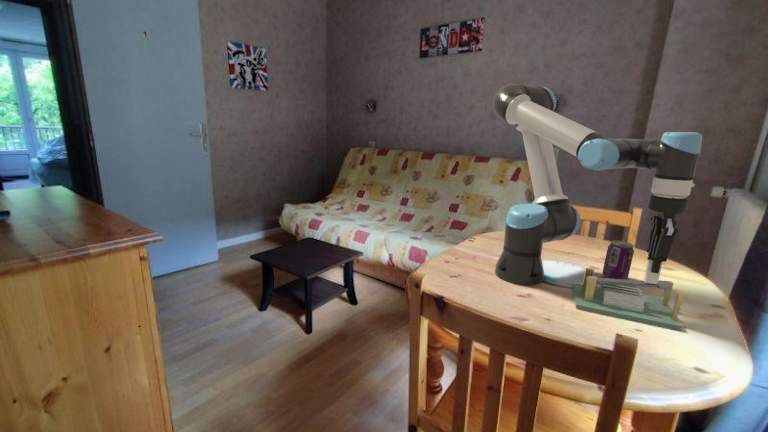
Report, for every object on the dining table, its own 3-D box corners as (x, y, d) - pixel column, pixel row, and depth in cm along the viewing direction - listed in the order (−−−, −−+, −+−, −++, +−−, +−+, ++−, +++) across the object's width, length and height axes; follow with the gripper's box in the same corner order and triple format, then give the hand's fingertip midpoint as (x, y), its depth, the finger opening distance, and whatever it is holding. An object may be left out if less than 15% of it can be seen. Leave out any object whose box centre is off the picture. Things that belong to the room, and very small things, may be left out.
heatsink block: (602, 305, 94) (605, 291, 93) (598, 291, 102) (601, 278, 101) (642, 313, 90) (646, 299, 89) (635, 298, 98) (638, 285, 97)
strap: (587, 285, 97) (587, 279, 96) (585, 279, 100) (585, 274, 100) (671, 291, 88) (671, 286, 88) (666, 285, 92) (667, 279, 92)
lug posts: (584, 301, 95) (588, 278, 94) (581, 287, 103) (585, 266, 102) (676, 320, 87) (683, 295, 85) (666, 303, 95) (672, 280, 93)
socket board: (575, 308, 94) (576, 304, 94) (572, 285, 107) (573, 282, 107) (680, 330, 85) (682, 326, 84) (663, 303, 98) (664, 299, 98)
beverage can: (631, 283, 110) (639, 248, 107) (607, 281, 111) (614, 246, 108) (621, 274, 116) (628, 241, 113) (598, 272, 118) (605, 239, 115)
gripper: (698, 201, 78) (676, 295, 84) (679, 192, 90) (660, 275, 96) (658, 198, 81) (639, 289, 87) (644, 190, 93) (628, 270, 99)
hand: (650, 282), depth 91 cm, fingers closed
